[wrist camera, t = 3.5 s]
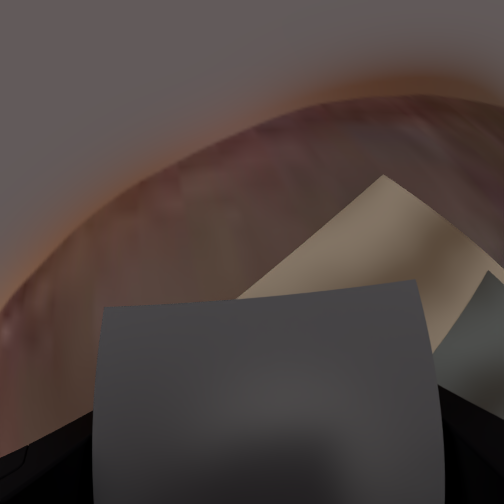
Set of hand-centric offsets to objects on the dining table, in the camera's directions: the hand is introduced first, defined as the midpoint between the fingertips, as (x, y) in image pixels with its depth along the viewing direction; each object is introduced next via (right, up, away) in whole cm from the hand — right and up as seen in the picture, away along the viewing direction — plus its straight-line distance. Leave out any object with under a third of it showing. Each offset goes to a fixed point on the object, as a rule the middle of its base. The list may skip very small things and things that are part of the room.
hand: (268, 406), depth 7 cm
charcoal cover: (+1, -5, +5) cm, 7 cm away
